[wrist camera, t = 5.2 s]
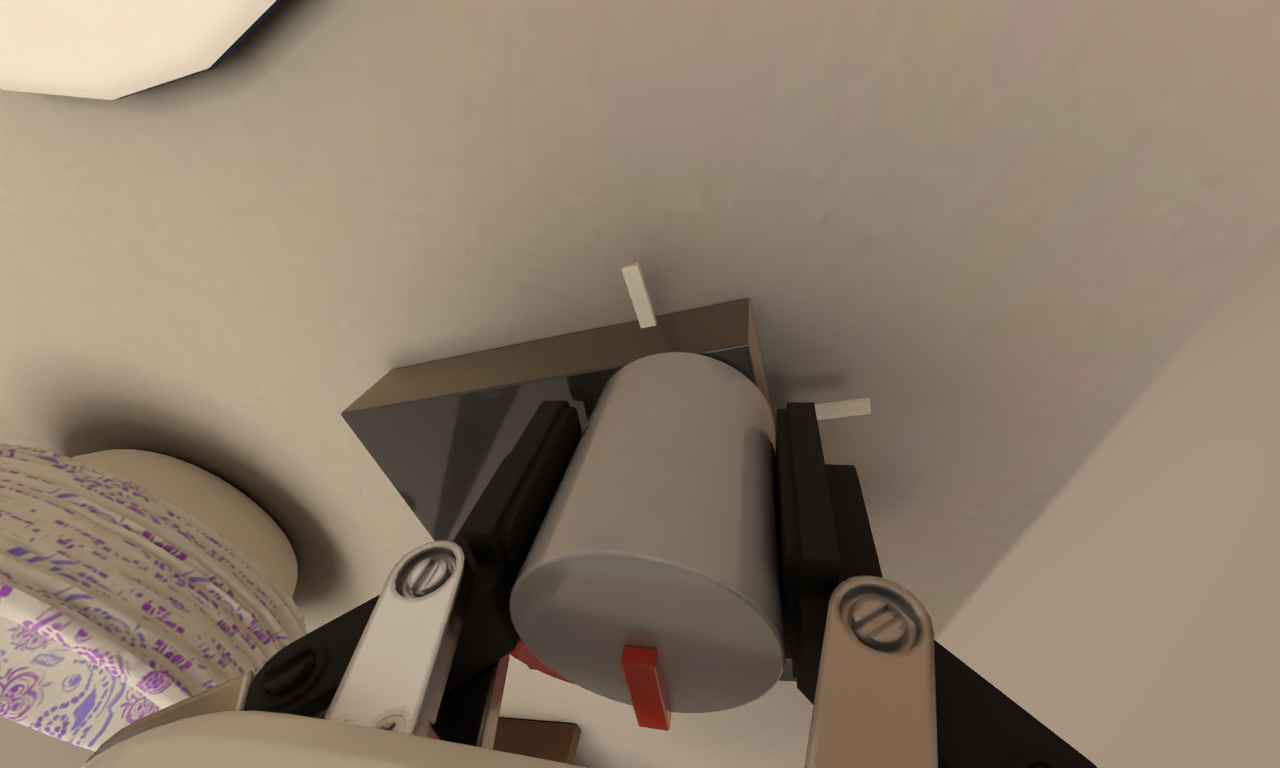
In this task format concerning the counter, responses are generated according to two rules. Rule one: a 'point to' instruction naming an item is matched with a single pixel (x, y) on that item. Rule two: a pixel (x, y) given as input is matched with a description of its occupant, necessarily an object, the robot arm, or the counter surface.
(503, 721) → the drying rack
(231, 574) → the paper bowls
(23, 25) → the plate
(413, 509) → the hob
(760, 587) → the hob knob
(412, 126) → the counter surface
